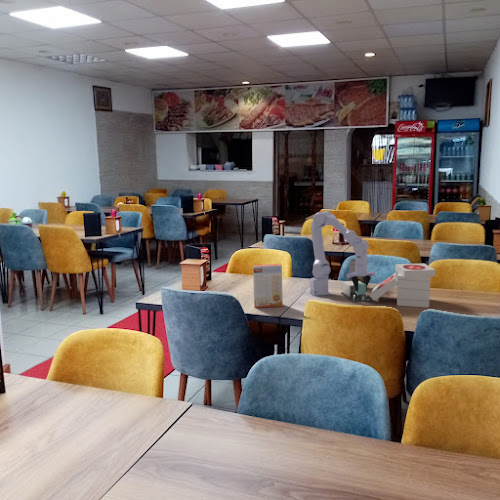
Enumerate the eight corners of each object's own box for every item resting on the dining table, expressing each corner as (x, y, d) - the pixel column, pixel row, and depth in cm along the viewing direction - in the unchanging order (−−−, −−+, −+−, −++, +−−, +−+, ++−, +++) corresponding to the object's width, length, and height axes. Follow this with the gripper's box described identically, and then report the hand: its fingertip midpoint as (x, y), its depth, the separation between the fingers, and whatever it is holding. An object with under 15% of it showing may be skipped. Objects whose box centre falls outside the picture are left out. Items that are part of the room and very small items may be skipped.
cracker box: (281, 303, 261) (281, 263, 258) (282, 307, 255) (282, 265, 252) (253, 304, 261) (252, 263, 257) (254, 308, 255) (253, 266, 251)
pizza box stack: (373, 294, 274) (374, 261, 271) (433, 298, 264) (435, 263, 261) (369, 304, 256) (369, 269, 253) (433, 309, 246) (435, 272, 243)
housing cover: (349, 296, 269) (349, 285, 268) (342, 292, 277) (342, 281, 276) (364, 295, 270) (365, 284, 269) (358, 291, 279) (358, 280, 278)
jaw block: (358, 294, 263) (358, 285, 262) (355, 292, 267) (355, 283, 266) (365, 294, 264) (365, 284, 263) (362, 292, 268) (362, 282, 267)
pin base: (354, 302, 261) (354, 297, 260) (341, 293, 277) (341, 289, 277) (373, 300, 263) (373, 296, 262) (359, 292, 279) (359, 287, 279)
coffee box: (359, 290, 282) (359, 261, 280) (348, 289, 286) (349, 260, 283) (366, 287, 290) (367, 258, 287) (356, 285, 293) (356, 257, 290)
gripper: (350, 266, 257) (350, 293, 259) (377, 264, 260) (377, 291, 262) (345, 264, 264) (344, 290, 266) (371, 262, 267) (371, 287, 269)
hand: (360, 290), depth 265 cm, fingers closed on jaw block, 4 cm apart
